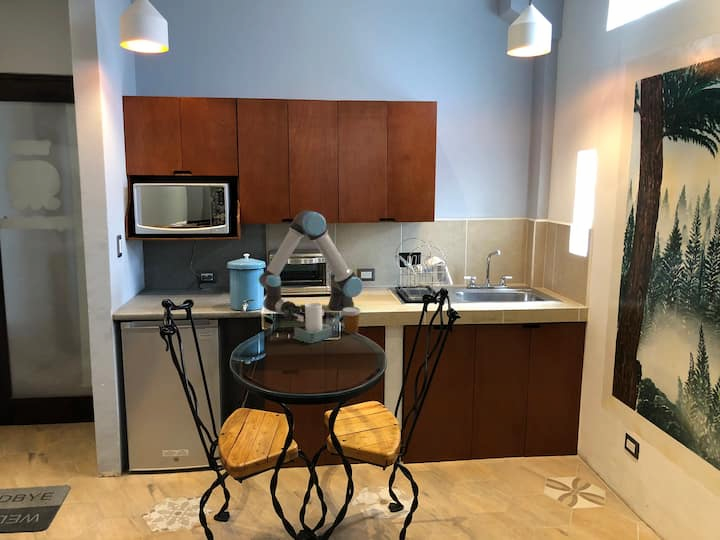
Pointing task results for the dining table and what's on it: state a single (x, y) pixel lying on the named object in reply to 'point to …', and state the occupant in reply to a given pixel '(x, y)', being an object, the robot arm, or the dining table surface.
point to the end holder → (314, 334)
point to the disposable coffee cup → (351, 319)
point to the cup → (313, 317)
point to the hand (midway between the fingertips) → (313, 315)
